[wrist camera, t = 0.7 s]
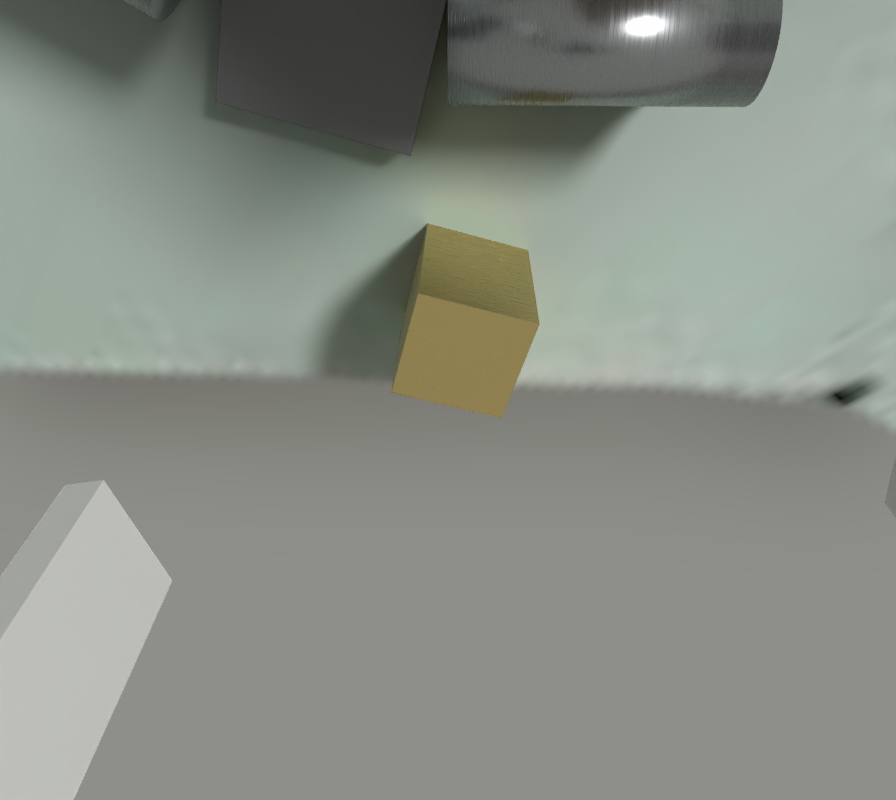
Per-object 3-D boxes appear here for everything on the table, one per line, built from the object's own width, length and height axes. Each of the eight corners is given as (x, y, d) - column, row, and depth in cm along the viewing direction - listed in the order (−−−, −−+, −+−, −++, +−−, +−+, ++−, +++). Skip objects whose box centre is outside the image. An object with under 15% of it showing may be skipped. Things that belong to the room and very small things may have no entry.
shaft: (452, 75, 28) (447, 125, 22) (452, -52, 26) (447, -35, 20) (695, 76, 28) (756, 127, 22) (720, -52, 25) (798, -34, 19)
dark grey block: (229, 90, 29) (215, 102, 27) (246, -144, 24) (229, -146, 23) (413, 141, 30) (410, 156, 28) (462, -72, 25) (462, -70, 24)
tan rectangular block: (404, 312, 35) (391, 392, 30) (427, 223, 32) (418, 293, 27) (496, 335, 36) (501, 418, 30) (528, 250, 33) (539, 324, 27)
